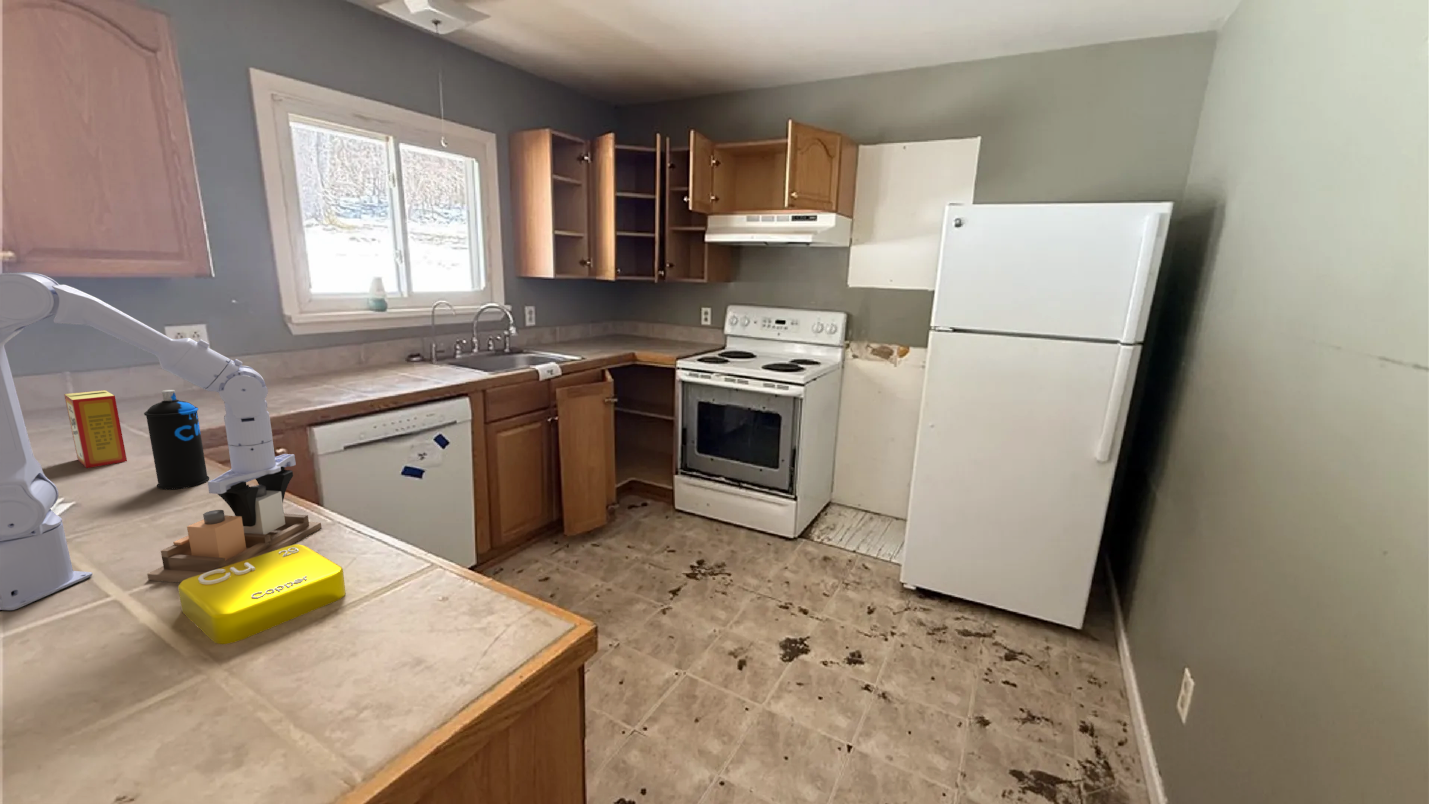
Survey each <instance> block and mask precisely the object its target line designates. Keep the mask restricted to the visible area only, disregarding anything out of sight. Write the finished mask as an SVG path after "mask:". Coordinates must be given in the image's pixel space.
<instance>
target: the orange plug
mask: <svg viewBox="0 0 1429 804" xmlns="http://www.w3.org/2000/svg"><path fill="white" fill-rule="evenodd" d="M202 515H203V517H202V518H203V519H202V520H199V521H196V522H194V523H192V524H190V525H187V526H186V528H187V536H189V542H190V548H191V554H192V556H205V557H219V558H225V561H226V560H227V559H229V558H231V557H233V556H235V555H237V554H239V553H241V552H243V551H245V550H246V543H245V536H244V530H243V523H242V516H233V515H226V514H225V511H224V510H223V509H214V510H209V511H206V512H204V513H203V514H202Z"/></svg>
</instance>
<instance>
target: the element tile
mask: <svg viewBox="0 0 1429 804" xmlns="http://www.w3.org/2000/svg"><path fill="white" fill-rule="evenodd" d="M178 594H179V600H180V605H181V611H182V614H183V613H184V614H185V615H186V618H187V619H188V620H189V621H191V620H192V621H193V622H194V623H195V624H196V625H197V626H198V627H199V628H200V629H201V630H202V632H203V633H204V634H205V636H206V637H208V638H209V639H210V640H211V641H212V642H213V641H214V642H213V643H215V644H218V645H227V644H228V645H229V644H233V643H237V642H239V641H243V640H245V639H248V638H250V637H253V636H254V635H257V634H259V633H262V632H264V631H266V630H270V629H272V628H274V627H277V626H279V625H283V624H284V623H286V622H290V621H291V620H293V619H296V618H299V617H301V616H303V615H306V614H309V613H310V612H313V611H315V610H318V609H320V608H323V607H325V606H328V605H330V604H334V603H335V602H337V601H340V600H341V599H342V598H344V597H345V596H346V594H347V593H346V585H345V577H344V568H343V567H342V566H341V565H339V564H338V563H335V562H334V561H332V560H330V559H329V558H327V557H325V556H324V555H322V554H321V553H319V552H317V551H315V550H313V549H312V548H310V547H308V546H307V545H303V544H298V543H294V544H292V545H290V546H287V547H284V548H281V549H278V550H275V551H272V552H269V553H266V554H262V555H259V556H256V557H253V558H250V559H247V560H244V561H241V562H237V563H234V564H231V565H228V566H225V567H222V568H219V569H216V570H212V571H209V572H206V573H203V574H200V575H197V576H194V577H191V578H188V579H185V580H183V581H182V582H181V583H180V582H179V583H178ZM184 614H183V615H184ZM192 621H191V622H192ZM193 622H192V623H193ZM194 623H193V624H194ZM195 624H194V625H195ZM196 625H195V626H196ZM197 626H196V627H197ZM198 627H197V628H198ZM199 628H198V629H199ZM200 629H199V630H200ZM201 630H200V631H201Z"/></svg>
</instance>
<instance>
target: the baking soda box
mask: <svg viewBox="0 0 1429 804" xmlns="http://www.w3.org/2000/svg"><path fill="white" fill-rule="evenodd" d="M63 396H64V400H65V404H66V410H67V415H68V419H69V425H70V429H71V434H72V438H73V439H72V440H73V443H74V448H75V454H76V459H77V461H78V462H79V463H81V465H82V466H83V467H84V468H86V469H88V468H89V469H90V468H96V467H101V466H107V465H113V463H114V464H119V463H124V462H125V461H126V462H128V458H127V453H126V448H125V443H124V436H123V432H122V427H121V421H120V416H119V411H118V410H119V409H118V405H117V400H116V396H115V395H114V394H112V393H111V392H109V391H108V390H105V389H104V390H93V391H82V392H73V393H72V392H71V393H64V394H63Z"/></svg>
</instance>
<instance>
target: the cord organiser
mask: <svg viewBox="0 0 1429 804" xmlns="http://www.w3.org/2000/svg"><path fill="white" fill-rule="evenodd" d="M232 516H235V514H234V515H232ZM284 517H285V525H283V526H281V527H279V528H277V529H275V530H273V531H271V532H269V533H267V534H252V533H244V536H245V543H246V550H245V551H243V552H241V553H239V554H237V555H235V556H233V557H231V558H229V559H227V560H226V561H225V558H219V557H205V556H192V554H191V548H190V542H189V536H188V535H186V536H184V537H182V538H179V539H177V540H175V541H173V544H172V545H170V546H168V547H166V548H164V549H161V550H160V555H161V556H160V557H161V561H162V566H161V567H158V568H156V569H155V570H152V571H150V572H148V573H147V574H146V575H147V579H148V581H155V582H170V583H179V584H180V583H181V582H182V581H183V580H185V579H188V578H191V577H194V576H197V575H200V574H203V573H206V572H209V571H212V570H216V569H219V568H222V567H225V566H228V565H231V564H234V563H237V562H241V561H244V560H247V559H250V558H253V557H256V556H259V555H262V554H266V553H269V552H272V551H275V550H278V549H281V548H284V547H287V546H291V545H294V544H296V543H297V542H299V541H300V540H302V539H304V538H306V537H309V536H310V535H311V534H313V533H315V532H317V531H318V530H320V529H321V528H322V522H320V521H319V522H318V521H309V515H308V514H296V513H295V514H294V513H284Z"/></svg>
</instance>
